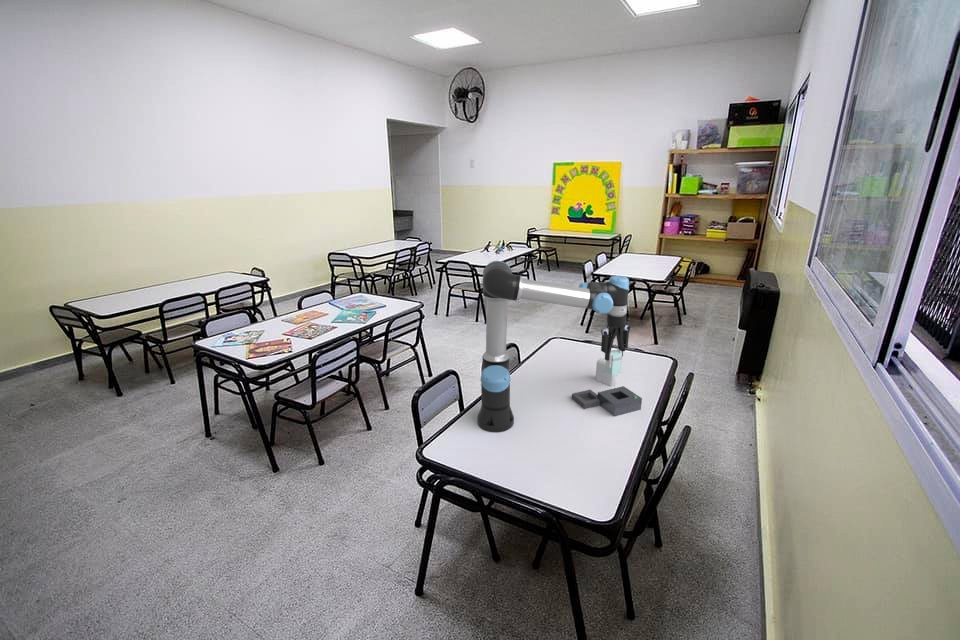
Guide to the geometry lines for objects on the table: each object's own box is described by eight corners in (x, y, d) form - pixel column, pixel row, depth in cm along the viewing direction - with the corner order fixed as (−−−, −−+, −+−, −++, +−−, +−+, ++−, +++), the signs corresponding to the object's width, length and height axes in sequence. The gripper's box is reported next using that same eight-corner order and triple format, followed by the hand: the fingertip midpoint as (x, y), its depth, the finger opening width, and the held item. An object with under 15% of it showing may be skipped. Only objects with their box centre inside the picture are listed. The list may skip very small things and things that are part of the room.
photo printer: (593, 380, 215) (595, 357, 211) (599, 378, 218) (601, 355, 214) (611, 388, 208) (613, 364, 204) (617, 385, 210) (619, 362, 206)
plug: (611, 375, 185) (613, 355, 182) (604, 371, 189) (606, 351, 186) (620, 373, 186) (622, 353, 183) (613, 368, 190) (614, 349, 187)
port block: (614, 417, 184) (615, 404, 182) (596, 404, 194) (597, 391, 192) (640, 410, 189) (642, 397, 186) (622, 397, 199) (623, 385, 197)
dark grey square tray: (584, 410, 190) (584, 404, 189) (571, 399, 198) (571, 393, 197) (603, 405, 193) (603, 399, 192) (589, 395, 202) (590, 389, 201)
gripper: (605, 319, 172) (601, 373, 180) (640, 312, 178) (635, 364, 186) (593, 314, 179) (590, 366, 187) (627, 308, 185) (623, 358, 193)
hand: (613, 365), depth 186 cm, fingers closed on plug, 5 cm apart
